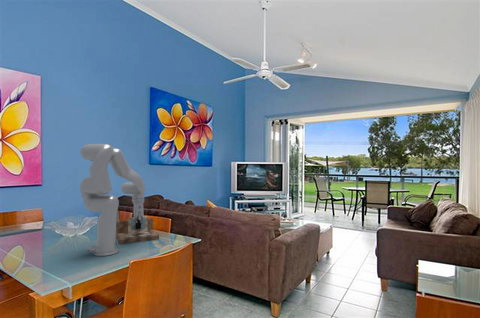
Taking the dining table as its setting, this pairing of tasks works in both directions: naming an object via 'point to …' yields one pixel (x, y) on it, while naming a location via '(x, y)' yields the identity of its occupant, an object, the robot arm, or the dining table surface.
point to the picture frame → (132, 225)
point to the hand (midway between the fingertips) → (137, 228)
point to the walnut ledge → (125, 238)
